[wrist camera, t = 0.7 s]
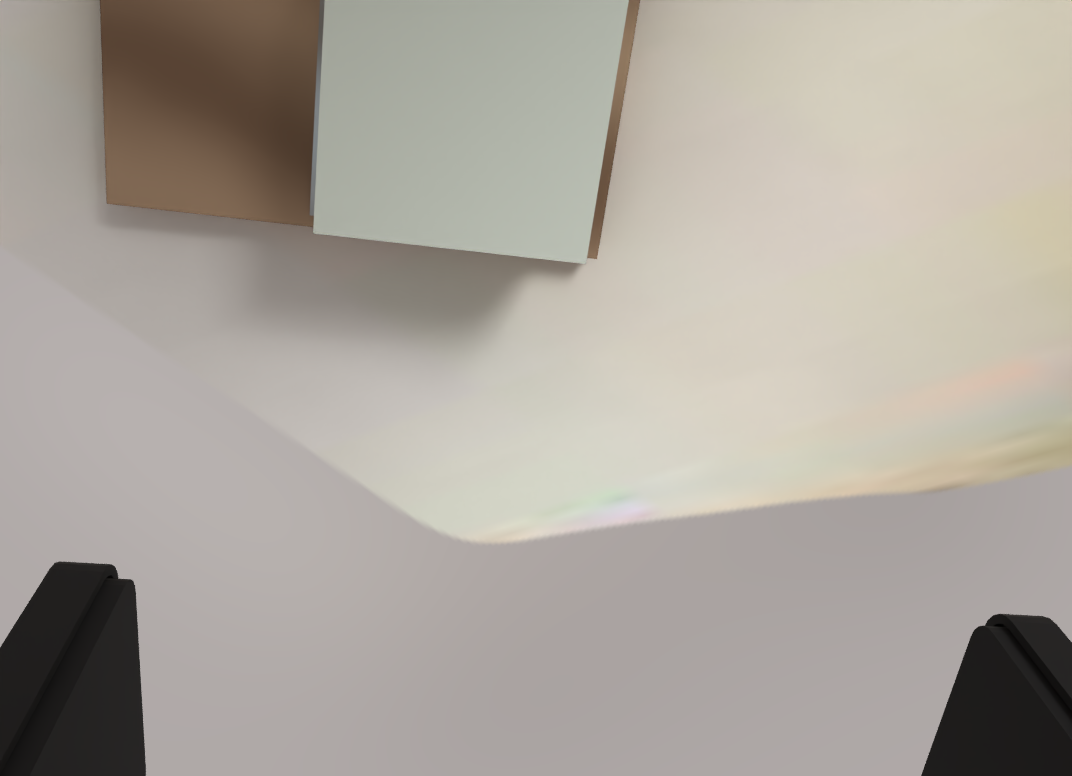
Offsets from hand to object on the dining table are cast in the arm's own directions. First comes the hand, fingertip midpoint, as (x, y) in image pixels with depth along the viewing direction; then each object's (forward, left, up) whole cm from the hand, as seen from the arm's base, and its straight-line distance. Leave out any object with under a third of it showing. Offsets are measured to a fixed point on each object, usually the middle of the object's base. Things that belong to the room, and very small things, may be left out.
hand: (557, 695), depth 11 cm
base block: (-3, -1, -24) cm, 24 cm away
